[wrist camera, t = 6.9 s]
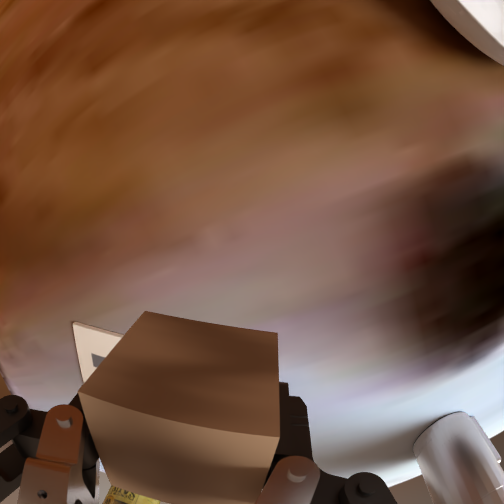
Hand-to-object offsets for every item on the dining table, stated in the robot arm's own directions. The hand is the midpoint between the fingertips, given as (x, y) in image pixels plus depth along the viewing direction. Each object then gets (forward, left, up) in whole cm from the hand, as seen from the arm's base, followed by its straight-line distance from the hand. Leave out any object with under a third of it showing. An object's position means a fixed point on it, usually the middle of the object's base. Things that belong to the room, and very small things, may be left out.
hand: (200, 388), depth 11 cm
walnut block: (0, 0, -1) cm, 1 cm away
